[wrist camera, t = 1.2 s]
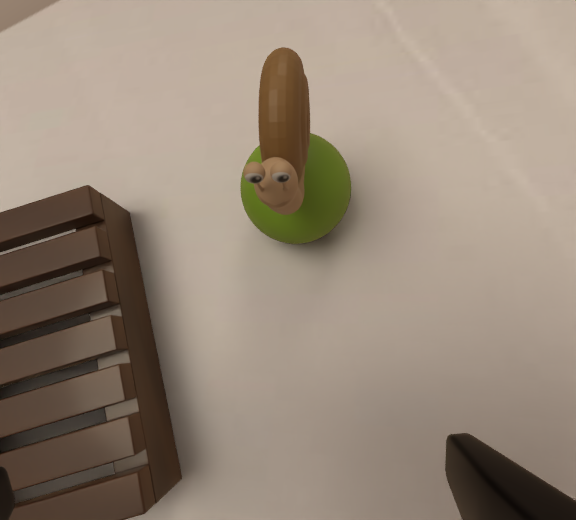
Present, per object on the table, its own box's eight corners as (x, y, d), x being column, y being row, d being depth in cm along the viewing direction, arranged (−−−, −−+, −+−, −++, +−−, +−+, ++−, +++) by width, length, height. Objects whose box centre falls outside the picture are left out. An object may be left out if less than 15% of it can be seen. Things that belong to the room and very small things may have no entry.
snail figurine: (250, 272, 21) (154, 182, 9) (253, 165, 22) (173, -34, 10) (349, 271, 20) (384, 174, 8) (346, 162, 21) (372, -52, 10)
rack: (182, 478, 19) (145, 514, 15) (-23, 538, 19) (-112, 589, 15) (129, 211, 22) (88, 184, 18) (-44, 265, 22) (-121, 249, 18)
